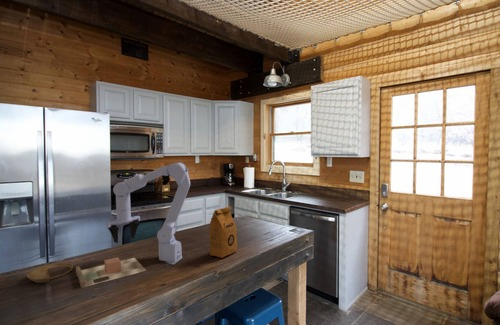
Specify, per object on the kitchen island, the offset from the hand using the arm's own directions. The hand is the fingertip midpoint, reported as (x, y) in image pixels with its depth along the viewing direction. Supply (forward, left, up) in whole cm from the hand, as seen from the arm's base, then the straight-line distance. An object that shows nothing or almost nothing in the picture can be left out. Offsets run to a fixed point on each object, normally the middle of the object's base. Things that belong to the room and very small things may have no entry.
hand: (124, 239), depth 120 cm
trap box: (-3, +12, -10) cm, 16 cm away
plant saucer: (+19, +19, -10) cm, 29 cm away
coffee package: (-39, -19, -10) cm, 45 cm away
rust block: (-3, +11, -9) cm, 15 cm away
